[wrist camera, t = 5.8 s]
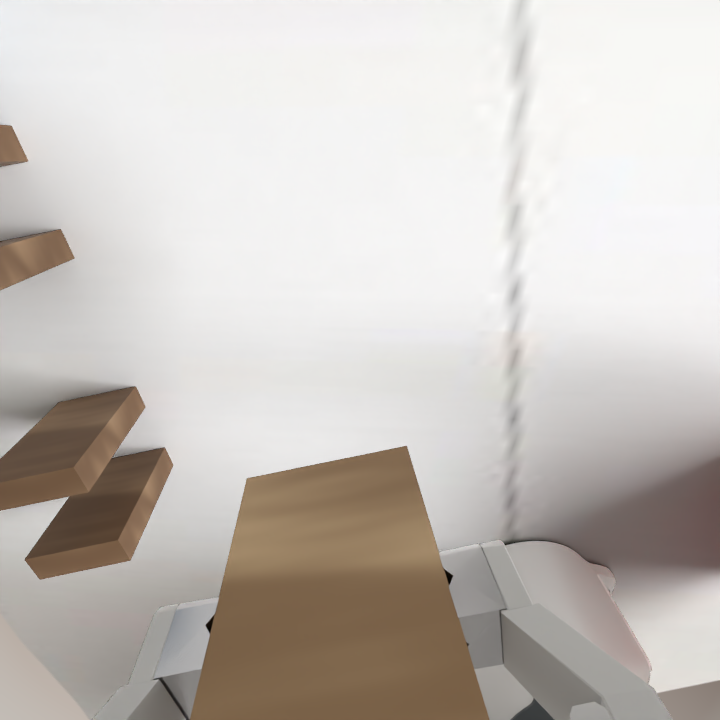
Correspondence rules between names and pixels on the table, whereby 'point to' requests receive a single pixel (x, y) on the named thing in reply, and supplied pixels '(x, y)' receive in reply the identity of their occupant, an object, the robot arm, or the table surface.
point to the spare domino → (337, 603)
